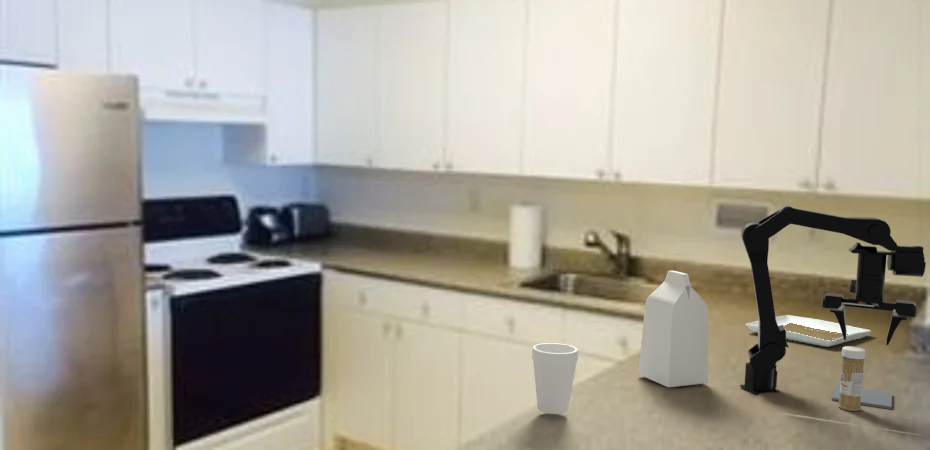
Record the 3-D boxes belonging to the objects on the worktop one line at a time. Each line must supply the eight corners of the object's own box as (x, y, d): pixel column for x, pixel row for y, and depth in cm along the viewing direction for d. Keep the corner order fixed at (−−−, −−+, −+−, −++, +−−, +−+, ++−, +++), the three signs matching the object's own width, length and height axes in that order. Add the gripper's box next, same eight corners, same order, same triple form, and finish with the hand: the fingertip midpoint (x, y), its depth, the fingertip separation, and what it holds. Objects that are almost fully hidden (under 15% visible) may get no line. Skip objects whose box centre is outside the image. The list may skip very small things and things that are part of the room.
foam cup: (584, 412, 172) (587, 350, 171) (549, 418, 167) (552, 356, 166) (555, 399, 180) (558, 341, 179) (521, 405, 175) (523, 345, 174)
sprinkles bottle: (833, 405, 182) (838, 345, 181) (853, 405, 183) (857, 345, 181) (845, 411, 178) (849, 350, 176) (865, 411, 178) (870, 350, 177)
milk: (637, 373, 204) (643, 269, 201) (676, 370, 208) (681, 268, 206) (668, 387, 193) (674, 277, 190) (707, 383, 197) (713, 275, 195)
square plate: (831, 353, 233) (832, 339, 232) (742, 335, 253) (743, 322, 253) (872, 340, 251) (873, 328, 250) (786, 324, 271) (787, 313, 271)
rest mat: (891, 409, 180) (891, 406, 180) (831, 400, 186) (831, 397, 186) (891, 395, 191) (892, 393, 191) (835, 387, 197) (835, 384, 197)
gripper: (917, 273, 188) (912, 340, 189) (828, 266, 197) (824, 330, 198) (918, 279, 178) (912, 350, 180) (824, 271, 187) (820, 339, 188)
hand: (865, 342), depth 187 cm, fingers open, 8 cm apart
